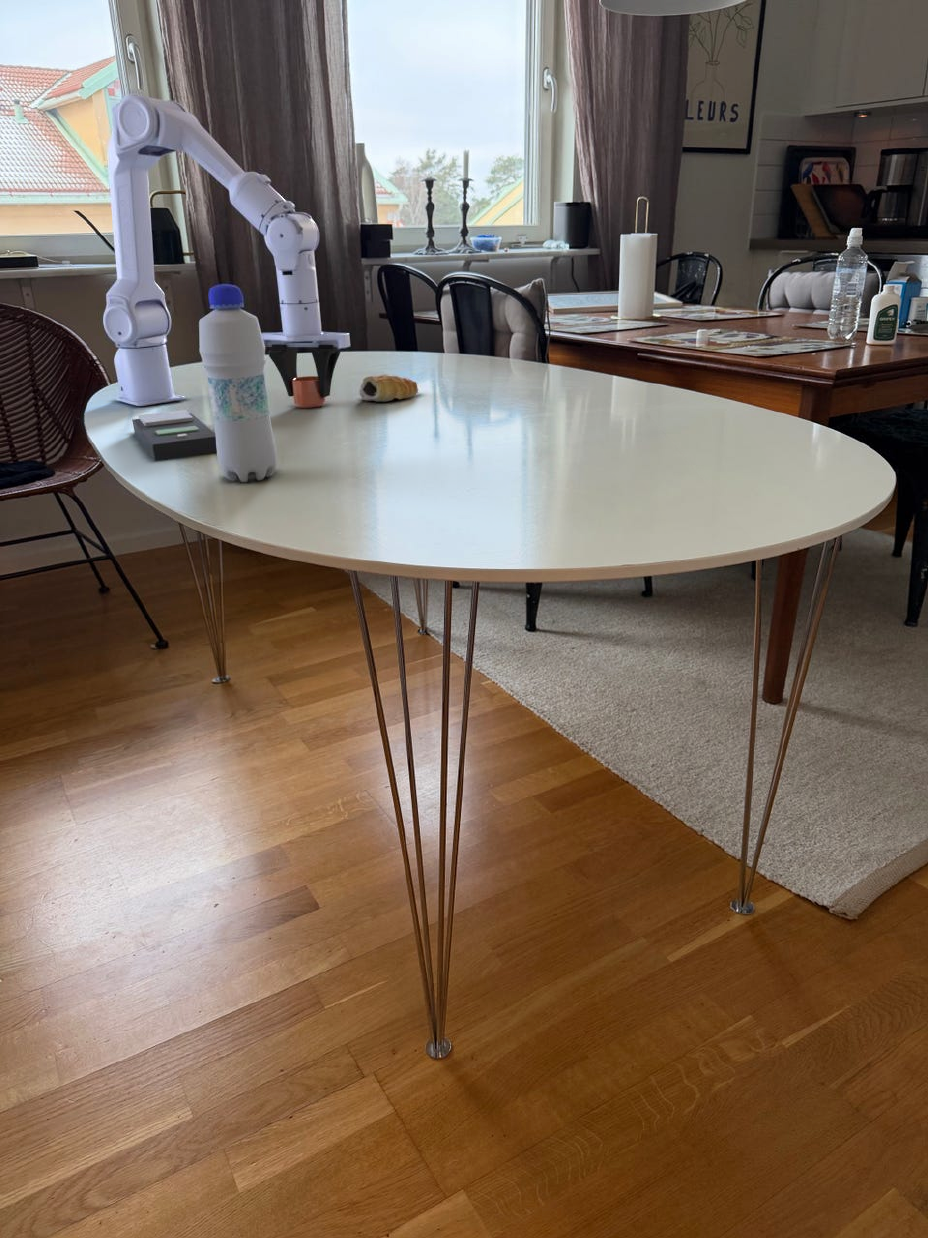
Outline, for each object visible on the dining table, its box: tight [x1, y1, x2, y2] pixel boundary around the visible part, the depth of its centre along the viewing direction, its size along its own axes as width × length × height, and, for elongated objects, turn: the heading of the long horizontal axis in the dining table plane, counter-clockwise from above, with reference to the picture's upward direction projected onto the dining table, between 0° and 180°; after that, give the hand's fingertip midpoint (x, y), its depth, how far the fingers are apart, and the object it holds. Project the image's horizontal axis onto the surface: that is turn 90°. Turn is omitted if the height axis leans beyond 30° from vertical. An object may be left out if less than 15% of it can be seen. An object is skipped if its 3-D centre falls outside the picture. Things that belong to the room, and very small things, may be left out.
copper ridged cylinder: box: [292, 375, 327, 409], centre depth 132 cm, size 5×5×4 cm
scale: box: [131, 409, 217, 462], centre depth 112 cm, size 18×8×2 cm, turn 27°
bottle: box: [198, 283, 277, 483], centre depth 91 cm, size 7×7×20 cm
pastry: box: [359, 374, 419, 403], centre depth 136 cm, size 9×7×4 cm
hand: (309, 395), depth 133 cm, fingers closed on copper ridged cylinder, 5 cm apart
